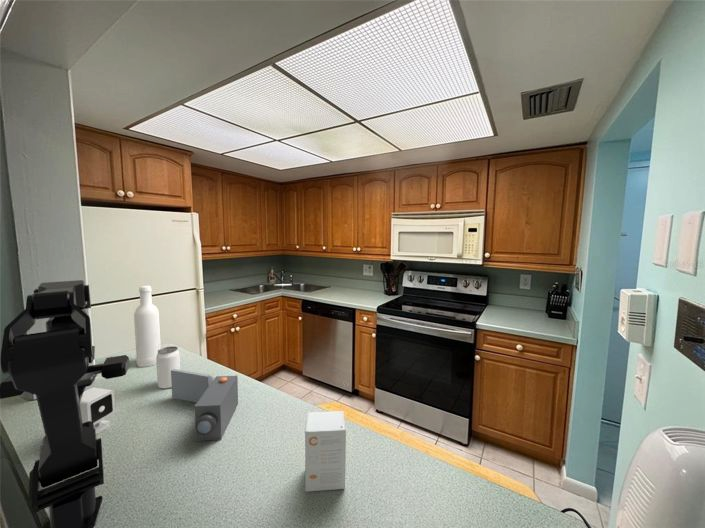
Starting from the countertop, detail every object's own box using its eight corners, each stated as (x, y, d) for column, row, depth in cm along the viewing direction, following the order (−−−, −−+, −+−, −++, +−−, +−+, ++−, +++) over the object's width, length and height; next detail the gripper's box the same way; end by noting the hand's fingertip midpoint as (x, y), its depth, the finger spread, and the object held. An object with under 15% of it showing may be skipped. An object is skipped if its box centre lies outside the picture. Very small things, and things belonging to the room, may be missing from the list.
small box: (343, 464, 63) (344, 410, 62) (345, 490, 57) (346, 429, 56) (306, 466, 63) (306, 411, 61) (304, 492, 56) (304, 431, 55)
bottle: (159, 356, 115) (155, 283, 112) (164, 362, 110) (160, 286, 107) (134, 362, 109) (129, 286, 106) (138, 369, 104) (133, 289, 101)
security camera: (90, 442, 68) (86, 403, 67) (67, 437, 70) (63, 399, 68) (116, 425, 74) (114, 389, 73) (95, 421, 76) (92, 385, 75)
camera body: (218, 446, 68) (216, 407, 67) (184, 448, 67) (182, 409, 66) (238, 403, 85) (237, 372, 84) (212, 404, 84) (211, 372, 83)
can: (159, 381, 96) (158, 347, 95) (181, 377, 99) (180, 344, 98) (155, 391, 90) (153, 355, 89) (179, 387, 93) (177, 351, 92)
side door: (213, 401, 85) (212, 373, 84) (208, 404, 83) (207, 376, 83) (177, 394, 88) (175, 367, 88) (172, 397, 87) (170, 370, 86)
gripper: (131, 324, 70) (134, 384, 71) (20, 336, 60) (28, 405, 62) (123, 338, 60) (127, 407, 62) (-10, 356, 51) (0, 437, 52)
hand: (74, 412), depth 60 cm, fingers closed
